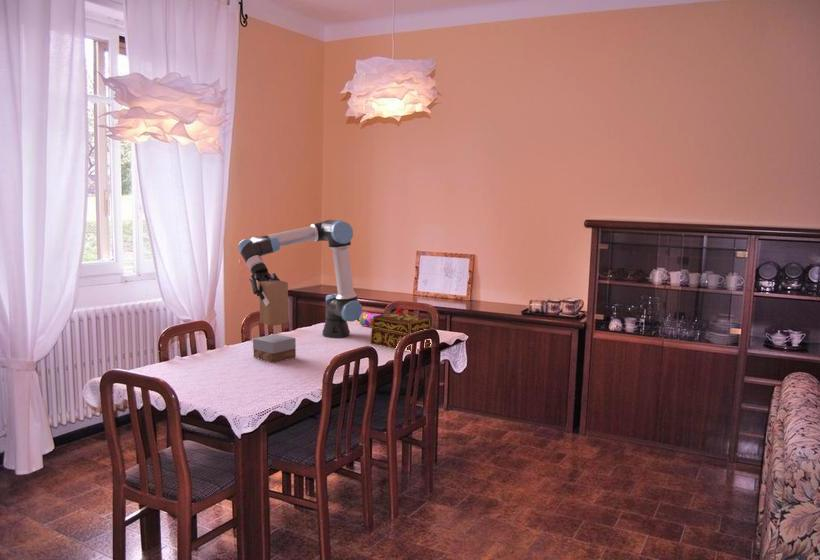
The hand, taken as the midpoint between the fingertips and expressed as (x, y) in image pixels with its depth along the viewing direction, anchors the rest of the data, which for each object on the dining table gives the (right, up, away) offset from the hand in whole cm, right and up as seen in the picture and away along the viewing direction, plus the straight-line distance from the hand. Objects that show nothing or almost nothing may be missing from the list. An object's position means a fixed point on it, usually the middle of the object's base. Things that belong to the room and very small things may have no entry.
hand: (277, 303), depth 308 cm
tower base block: (-3, -27, +6) cm, 27 cm away
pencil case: (+41, -18, +82) cm, 93 cm away
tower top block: (-2, -22, +5) cm, 22 cm away
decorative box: (+57, -24, +38) cm, 73 cm away
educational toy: (+56, -20, +66) cm, 89 cm away
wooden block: (-2, -10, +3) cm, 11 cm away
